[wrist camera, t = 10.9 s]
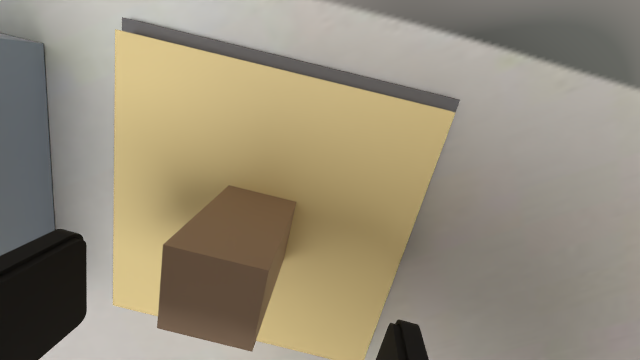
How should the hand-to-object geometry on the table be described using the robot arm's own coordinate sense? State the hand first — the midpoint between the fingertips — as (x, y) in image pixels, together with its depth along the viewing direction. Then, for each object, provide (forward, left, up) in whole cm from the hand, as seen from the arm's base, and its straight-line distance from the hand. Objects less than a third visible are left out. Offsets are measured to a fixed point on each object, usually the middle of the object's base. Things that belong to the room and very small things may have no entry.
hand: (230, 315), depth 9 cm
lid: (+1, 0, -6) cm, 6 cm away
